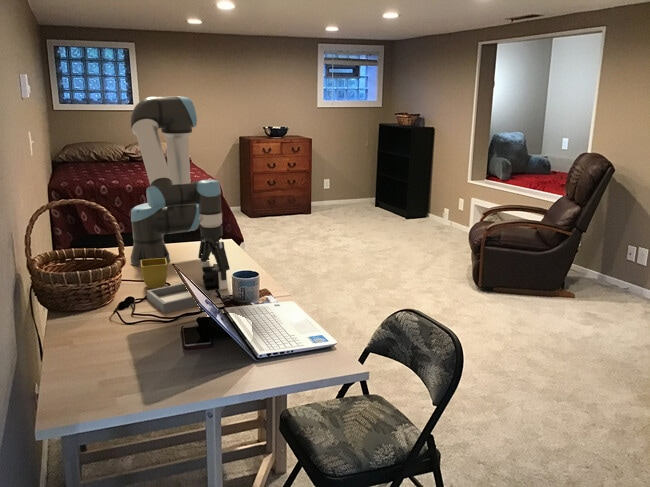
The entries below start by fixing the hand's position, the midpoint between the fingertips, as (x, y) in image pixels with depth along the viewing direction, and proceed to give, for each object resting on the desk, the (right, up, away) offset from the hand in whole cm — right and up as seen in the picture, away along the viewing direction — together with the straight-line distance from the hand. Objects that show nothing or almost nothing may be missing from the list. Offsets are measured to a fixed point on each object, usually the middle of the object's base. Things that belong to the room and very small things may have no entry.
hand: (214, 283), depth 201 cm
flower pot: (-21, -1, 0) cm, 21 cm away
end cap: (0, -1, 0) cm, 1 cm away
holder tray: (-9, -5, -14) cm, 17 cm away
